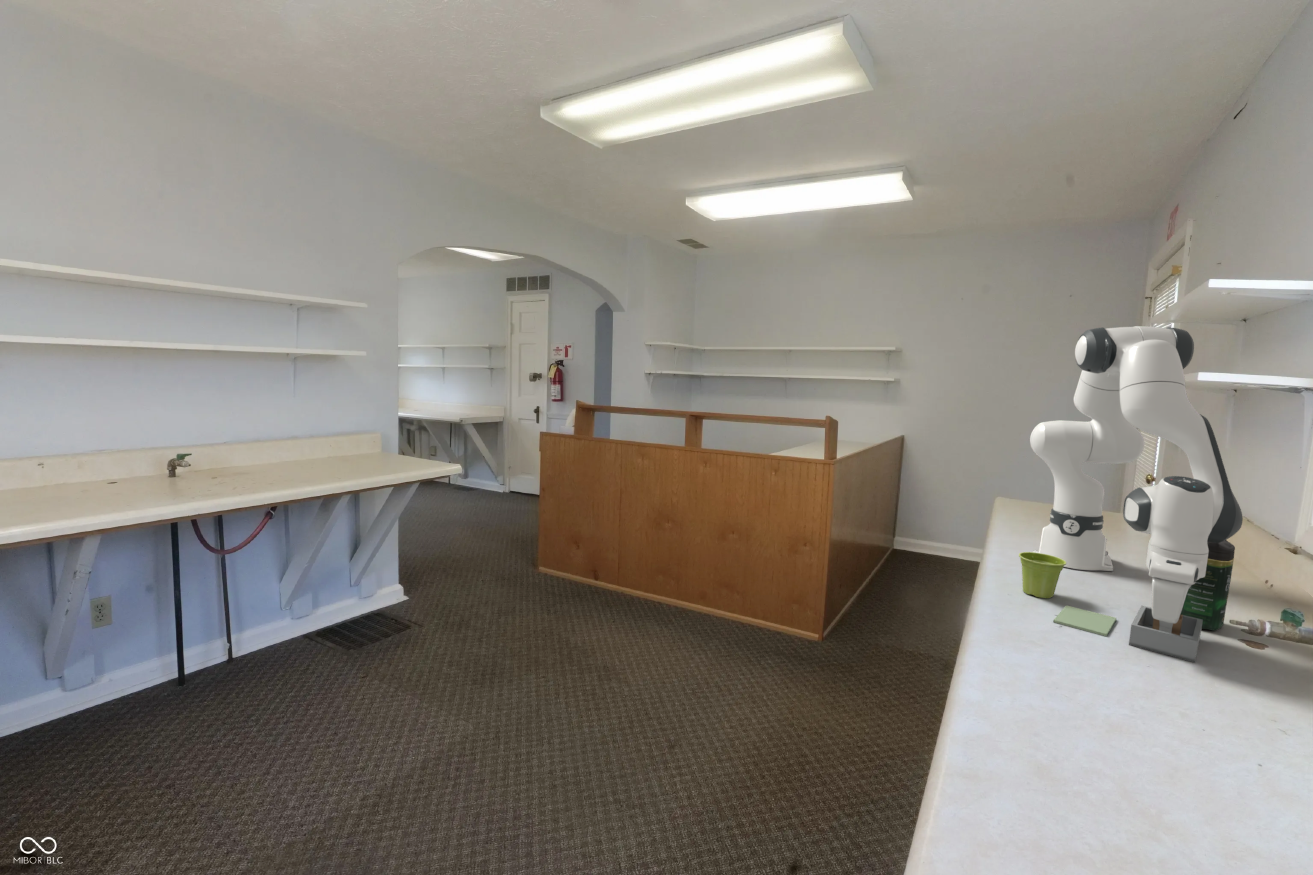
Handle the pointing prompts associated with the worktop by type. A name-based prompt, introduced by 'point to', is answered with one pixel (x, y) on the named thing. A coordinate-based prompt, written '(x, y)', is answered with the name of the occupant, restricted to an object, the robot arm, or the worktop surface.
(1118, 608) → the worktop surface
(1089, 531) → the robot arm
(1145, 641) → the grey bin
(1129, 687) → the worktop surface
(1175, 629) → the walnut block
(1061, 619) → the olive mat
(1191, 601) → the coffee jar
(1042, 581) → the plant pot
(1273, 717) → the worktop surface
